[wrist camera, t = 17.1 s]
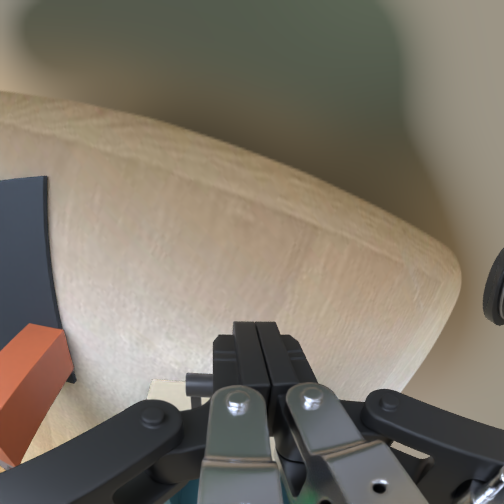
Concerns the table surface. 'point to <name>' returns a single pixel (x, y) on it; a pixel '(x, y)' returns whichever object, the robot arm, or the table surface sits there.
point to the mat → (25, 259)
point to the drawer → (187, 398)
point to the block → (29, 385)
